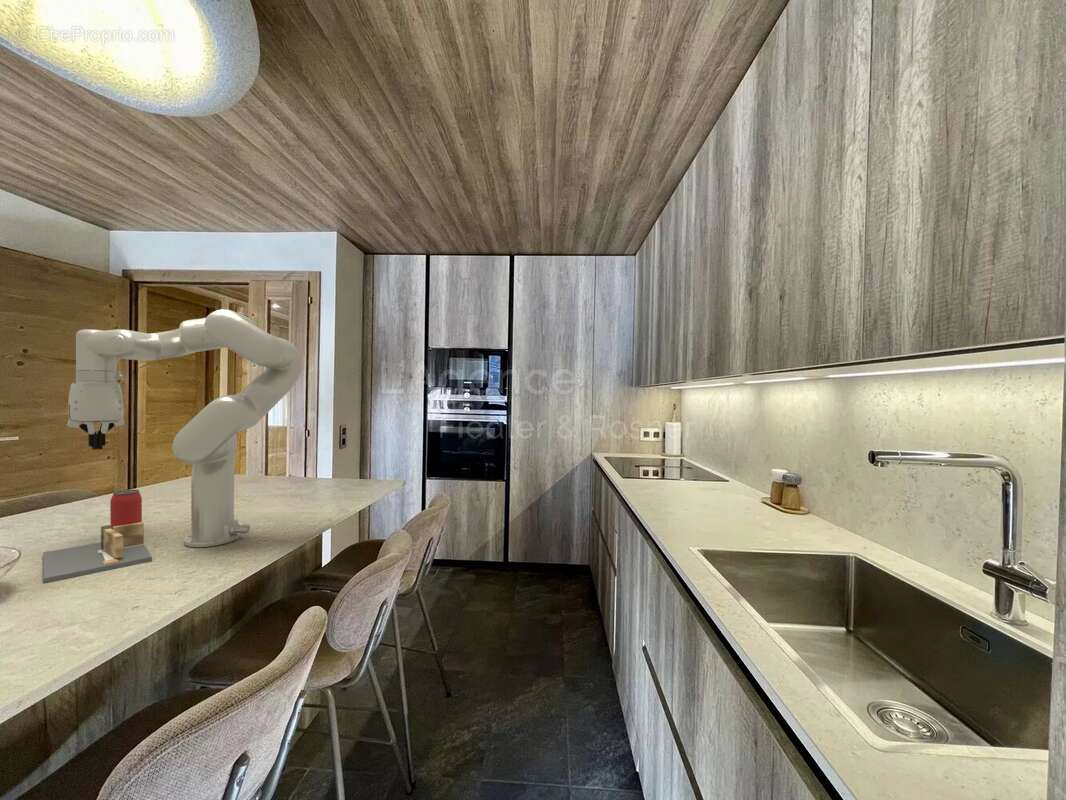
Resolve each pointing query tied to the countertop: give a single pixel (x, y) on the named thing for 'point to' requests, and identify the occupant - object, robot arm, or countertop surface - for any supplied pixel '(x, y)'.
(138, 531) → the bar
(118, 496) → the beer can
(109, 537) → the fence gate
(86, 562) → the card
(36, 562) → the countertop surface
